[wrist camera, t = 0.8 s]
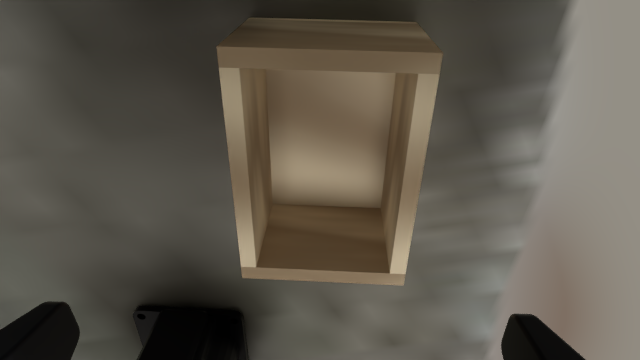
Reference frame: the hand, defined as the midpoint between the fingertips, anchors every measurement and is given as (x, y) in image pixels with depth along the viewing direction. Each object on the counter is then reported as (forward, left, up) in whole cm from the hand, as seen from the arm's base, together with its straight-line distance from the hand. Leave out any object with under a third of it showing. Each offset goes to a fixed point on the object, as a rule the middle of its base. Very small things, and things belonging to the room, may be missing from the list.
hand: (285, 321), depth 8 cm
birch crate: (0, -1, -11) cm, 11 cm away
